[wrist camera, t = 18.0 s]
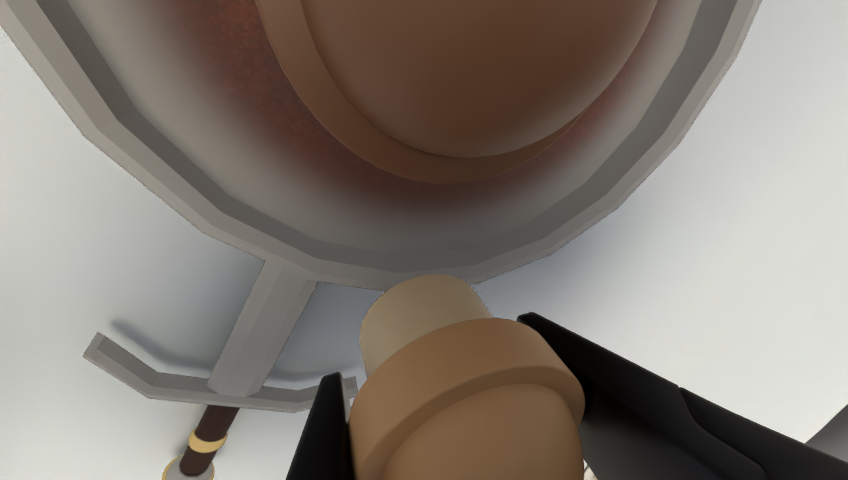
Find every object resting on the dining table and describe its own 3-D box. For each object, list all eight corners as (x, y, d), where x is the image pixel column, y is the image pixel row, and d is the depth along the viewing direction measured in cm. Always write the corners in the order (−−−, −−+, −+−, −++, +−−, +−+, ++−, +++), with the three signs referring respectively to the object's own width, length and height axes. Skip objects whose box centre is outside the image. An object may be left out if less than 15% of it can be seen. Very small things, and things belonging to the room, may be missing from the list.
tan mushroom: (501, 233, 9) (700, 423, 5) (497, 357, 11) (626, 560, 7) (314, 280, 8) (343, 580, 4) (353, 406, 10) (399, 677, 6)
